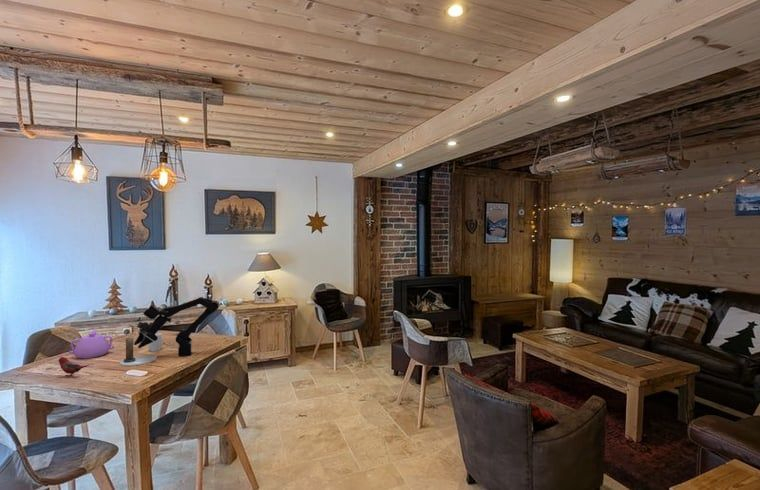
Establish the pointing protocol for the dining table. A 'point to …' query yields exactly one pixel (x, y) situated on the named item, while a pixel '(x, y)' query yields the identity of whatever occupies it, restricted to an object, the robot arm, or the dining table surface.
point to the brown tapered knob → (129, 351)
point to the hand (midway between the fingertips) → (136, 346)
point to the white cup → (156, 343)
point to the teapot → (91, 346)
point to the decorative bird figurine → (69, 366)
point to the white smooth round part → (139, 360)
